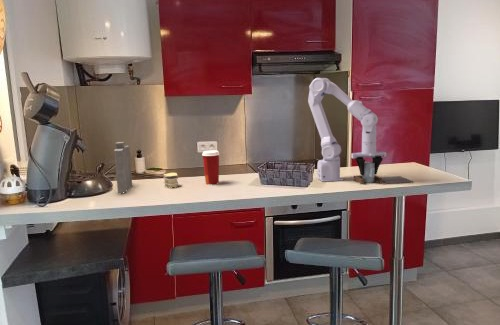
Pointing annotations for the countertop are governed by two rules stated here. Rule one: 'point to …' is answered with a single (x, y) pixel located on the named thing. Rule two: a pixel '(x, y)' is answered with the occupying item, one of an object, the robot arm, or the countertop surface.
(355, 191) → the countertop surface
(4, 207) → the countertop surface
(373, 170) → the jug
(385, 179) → the rubber mat
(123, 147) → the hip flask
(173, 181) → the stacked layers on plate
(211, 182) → the paper cup
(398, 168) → the countertop surface
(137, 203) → the countertop surface
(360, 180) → the jug holder
